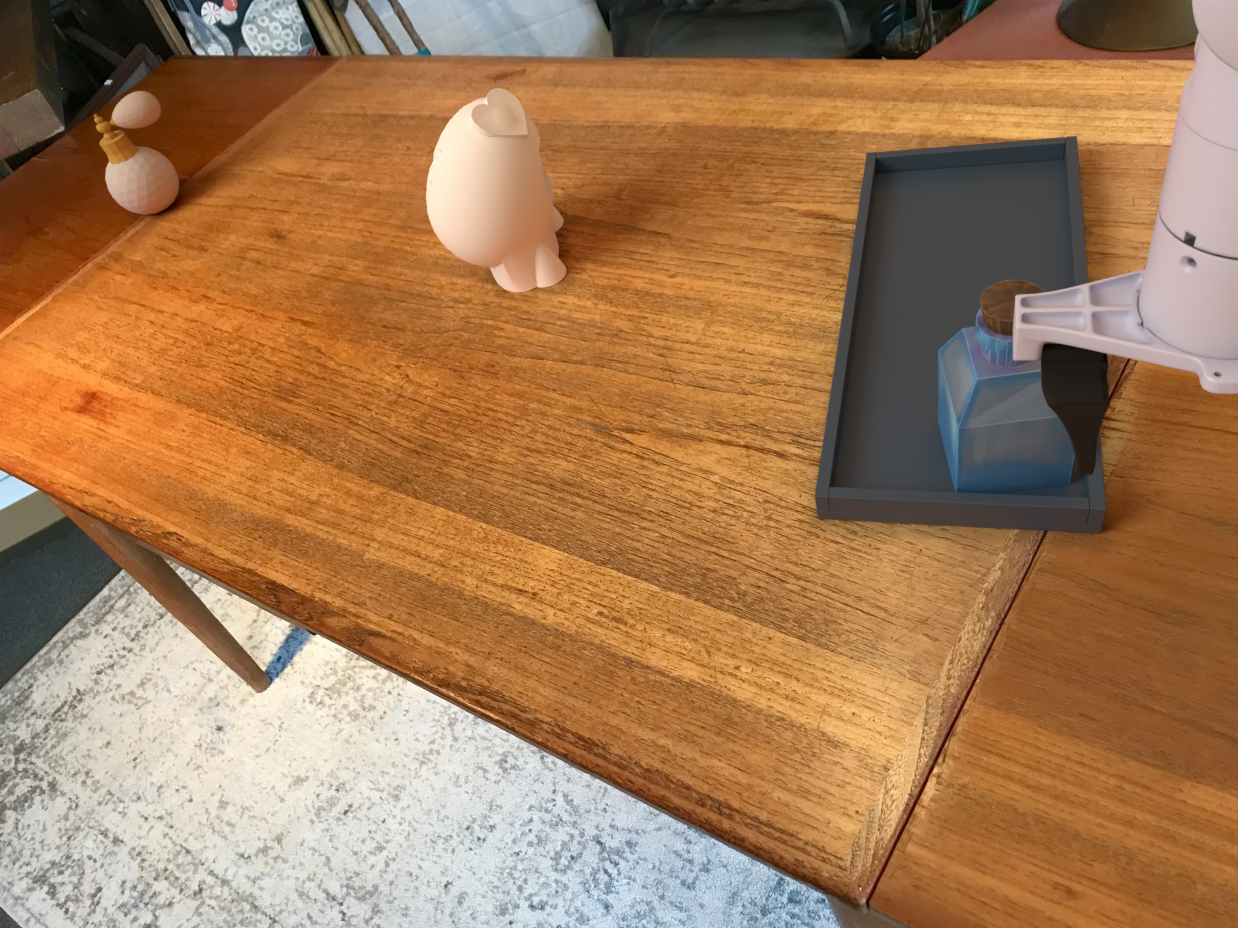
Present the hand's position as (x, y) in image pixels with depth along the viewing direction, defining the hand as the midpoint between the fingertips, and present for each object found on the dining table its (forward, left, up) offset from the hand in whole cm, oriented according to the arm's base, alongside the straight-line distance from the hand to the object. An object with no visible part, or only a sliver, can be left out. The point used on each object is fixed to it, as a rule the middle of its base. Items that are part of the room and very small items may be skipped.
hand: (1177, 460), depth 42 cm
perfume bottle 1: (+97, -44, -11) cm, 107 cm away
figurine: (+47, -30, -11) cm, 57 cm away
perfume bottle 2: (+7, -8, -10) cm, 15 cm away
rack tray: (+10, -21, -10) cm, 25 cm away
